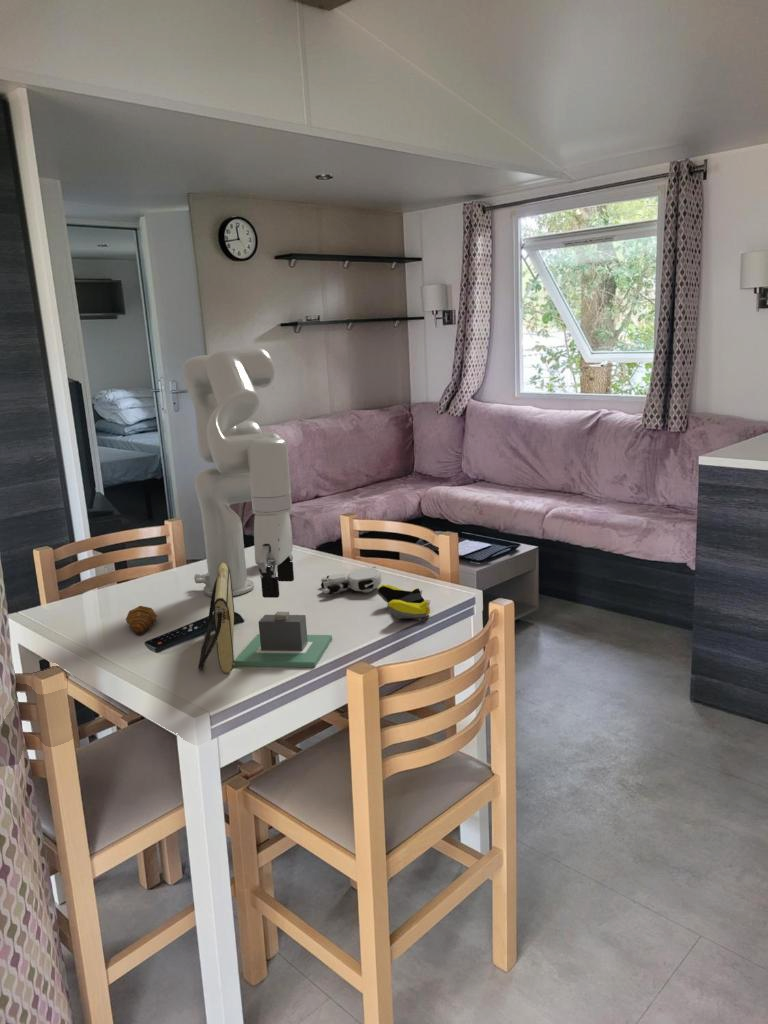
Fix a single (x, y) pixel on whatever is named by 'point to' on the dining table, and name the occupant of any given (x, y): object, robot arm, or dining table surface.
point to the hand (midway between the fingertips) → (278, 588)
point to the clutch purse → (221, 620)
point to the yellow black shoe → (405, 602)
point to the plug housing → (283, 632)
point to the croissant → (141, 619)
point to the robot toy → (352, 581)
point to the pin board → (284, 654)
